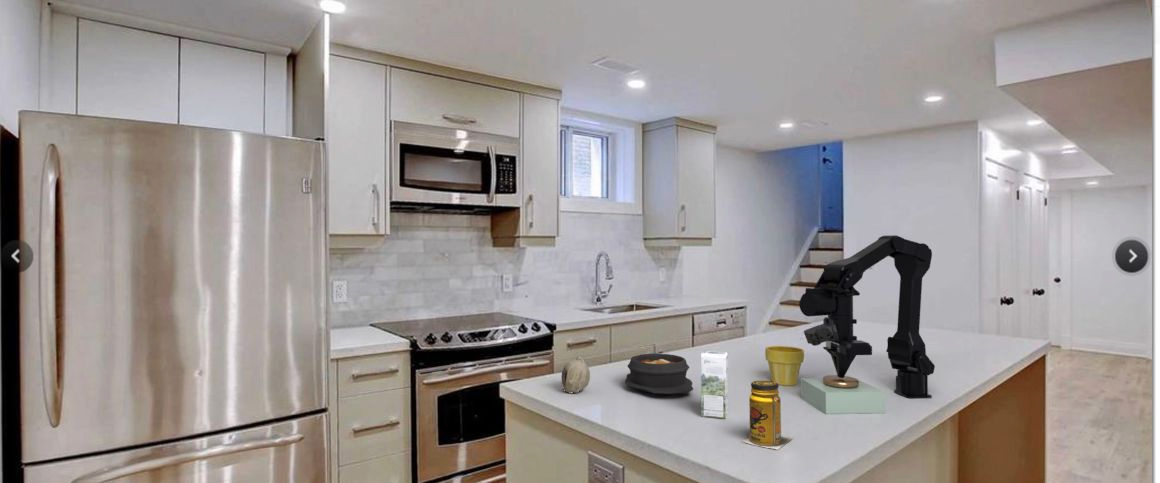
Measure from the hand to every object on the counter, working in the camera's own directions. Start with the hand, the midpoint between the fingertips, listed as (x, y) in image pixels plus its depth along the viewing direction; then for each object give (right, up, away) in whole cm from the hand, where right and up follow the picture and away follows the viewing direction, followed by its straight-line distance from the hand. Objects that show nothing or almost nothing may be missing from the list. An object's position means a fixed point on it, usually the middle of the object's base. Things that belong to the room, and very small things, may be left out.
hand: (840, 377), depth 143 cm
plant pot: (-6, -7, +23) cm, 25 cm away
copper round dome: (0, -6, 0) cm, 6 cm away
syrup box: (-33, -7, -7) cm, 34 cm away
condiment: (-26, -7, -25) cm, 37 cm away
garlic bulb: (-66, -8, +15) cm, 68 cm away
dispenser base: (0, -7, 0) cm, 7 cm away
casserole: (-43, -7, +17) cm, 47 cm away
